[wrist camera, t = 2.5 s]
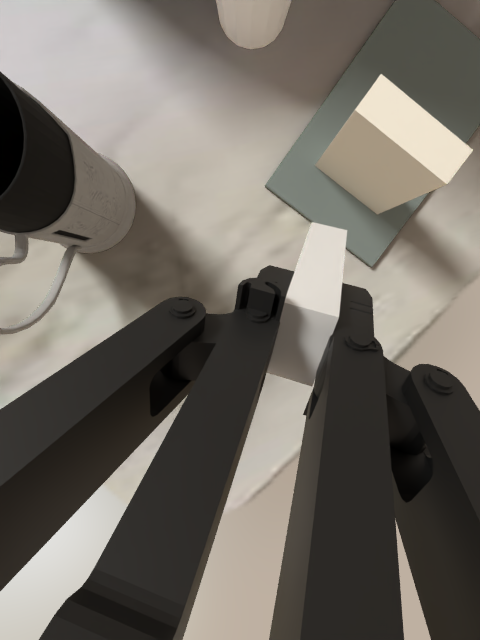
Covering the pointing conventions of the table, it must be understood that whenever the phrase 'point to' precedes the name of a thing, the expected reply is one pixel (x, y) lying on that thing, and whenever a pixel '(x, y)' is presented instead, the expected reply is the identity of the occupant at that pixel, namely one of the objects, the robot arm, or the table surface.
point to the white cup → (252, 20)
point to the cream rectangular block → (392, 150)
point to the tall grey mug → (55, 189)
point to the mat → (372, 60)
